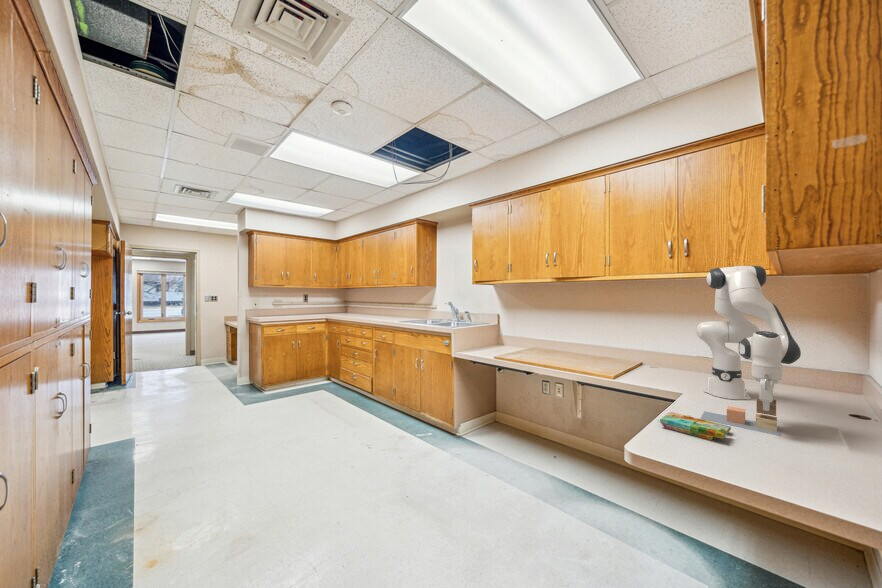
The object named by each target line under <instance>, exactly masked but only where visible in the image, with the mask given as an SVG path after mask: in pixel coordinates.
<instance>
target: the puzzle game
mask: <svg viewBox="0 0 882 588" xmlns="http://www.w3.org/2000/svg"><path fill="white" fill-rule="evenodd" d="M659 422H660V424H661V425H662V427H663V428H664V427H666V428H665V429H667V428H669V430H671V429H673V430H672V431H675V430H677V431H676V432H679V431H681V432H680V433H682V432H684V433H683V434H686V433H688V434H687V435H690V434H691V436H693V437H697V436H698V437H697V438H701V437H702V439H705V438H706V440H708V439H709V441H711V440H713V439H714V438H718V439H725V437H726V436H727V435H728V434H729V432H730V431H731V429H732V426H730V425H725V424H721V423H716V422H711V421H706V420H702V419H700V418H696V417H693V416H691V415H690V414H689V415H688V414H687V415H686V414H681V413H677V412H673V411H669V412H668V413H666V415H664V416H662V417H661V418H659Z"/></svg>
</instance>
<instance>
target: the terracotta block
mask: <svg viewBox="0 0 882 588" xmlns="http://www.w3.org/2000/svg"><path fill="white" fill-rule="evenodd" d="M726 416H727V421H728V422H733V423H738V424H743V425H745V419H746V408H741V407H736V406H730V405H727V408H726Z"/></svg>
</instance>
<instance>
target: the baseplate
mask: <svg viewBox="0 0 882 588" xmlns="http://www.w3.org/2000/svg"><path fill="white" fill-rule="evenodd" d="M699 419H702V420H706V421H710V422H714V423H718V424H722V425H727V426H730V427H735V428H740V429H745V430H749V431H755V432H757V433H758V432H759V433H763V434H769V435H774V436H778V437H781V436H782V433H781V426H780V425H777V432H776V431H771V430H766V429H761V428H756V420H755V421H754V420H751V419H746V418H745V425H743V424H738V423H733V422H728V421H727V414H725V415H724V414H720V413H715V412H711V411H703V413H702V415H701V416H700V418H699Z"/></svg>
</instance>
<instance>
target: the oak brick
mask: <svg viewBox="0 0 882 588" xmlns="http://www.w3.org/2000/svg"><path fill="white" fill-rule="evenodd" d="M755 421H756V428H761V429H766V430H771V431H776V432H777V426H778V418H777V416H773V415H767V414H762V413H755Z"/></svg>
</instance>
